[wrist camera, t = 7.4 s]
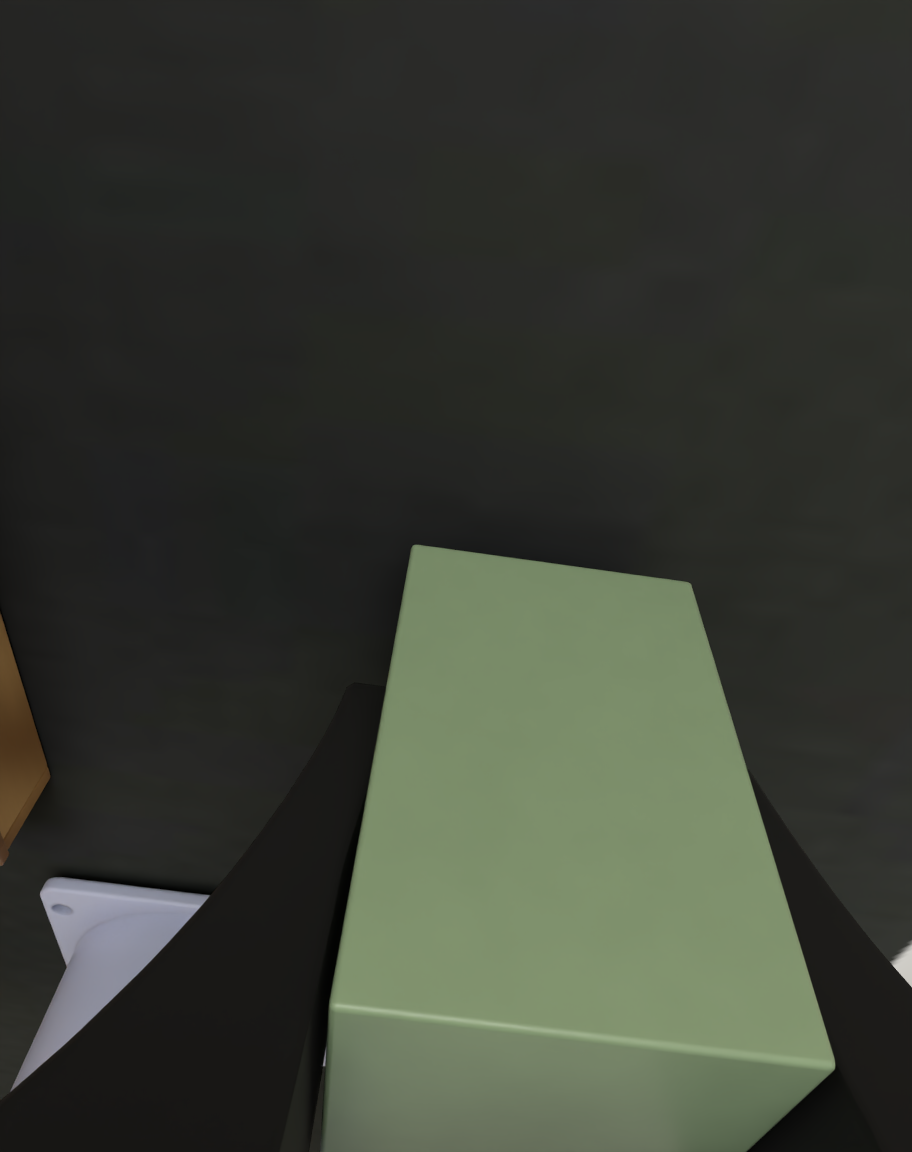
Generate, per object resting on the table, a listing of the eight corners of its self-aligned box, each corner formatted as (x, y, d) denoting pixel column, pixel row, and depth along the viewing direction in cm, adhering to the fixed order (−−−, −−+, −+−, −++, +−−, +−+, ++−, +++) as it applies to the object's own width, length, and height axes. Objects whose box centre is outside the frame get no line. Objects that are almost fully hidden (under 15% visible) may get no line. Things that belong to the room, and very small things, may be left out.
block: (619, 761, 15) (682, 1215, 9) (390, 731, 15) (317, 1173, 9) (691, 581, 12) (841, 1070, 7) (412, 541, 12) (326, 1008, 7)
